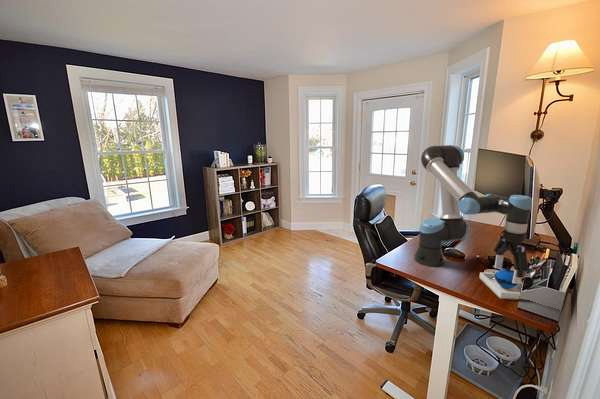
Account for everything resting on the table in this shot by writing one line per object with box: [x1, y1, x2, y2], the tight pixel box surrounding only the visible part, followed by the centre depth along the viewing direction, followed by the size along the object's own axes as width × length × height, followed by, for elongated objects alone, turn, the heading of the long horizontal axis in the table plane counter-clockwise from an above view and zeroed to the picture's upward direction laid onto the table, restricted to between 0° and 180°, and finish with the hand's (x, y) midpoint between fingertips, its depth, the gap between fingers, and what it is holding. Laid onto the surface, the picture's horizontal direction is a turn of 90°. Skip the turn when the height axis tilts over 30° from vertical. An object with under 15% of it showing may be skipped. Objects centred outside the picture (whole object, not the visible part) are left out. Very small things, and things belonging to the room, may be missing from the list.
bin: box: [478, 272, 524, 301], centre depth 120 cm, size 14×18×3 cm
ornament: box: [495, 266, 518, 288], centre depth 119 cm, size 9×9×10 cm
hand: (506, 275), depth 119 cm, fingers open, 13 cm apart
